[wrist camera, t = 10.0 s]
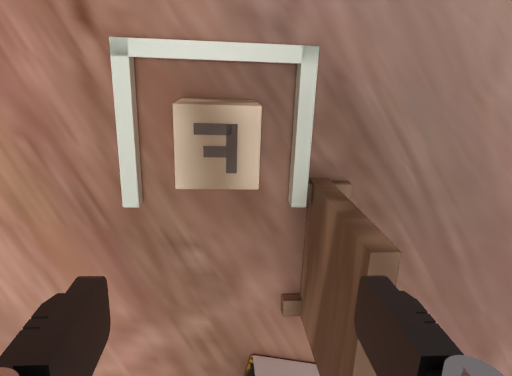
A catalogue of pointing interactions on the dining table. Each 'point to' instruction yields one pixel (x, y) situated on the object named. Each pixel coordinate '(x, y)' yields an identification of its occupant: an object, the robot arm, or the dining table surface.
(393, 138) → the dining table surface
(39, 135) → the dining table surface
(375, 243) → the screen
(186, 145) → the letter cube
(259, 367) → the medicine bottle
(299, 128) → the bay
